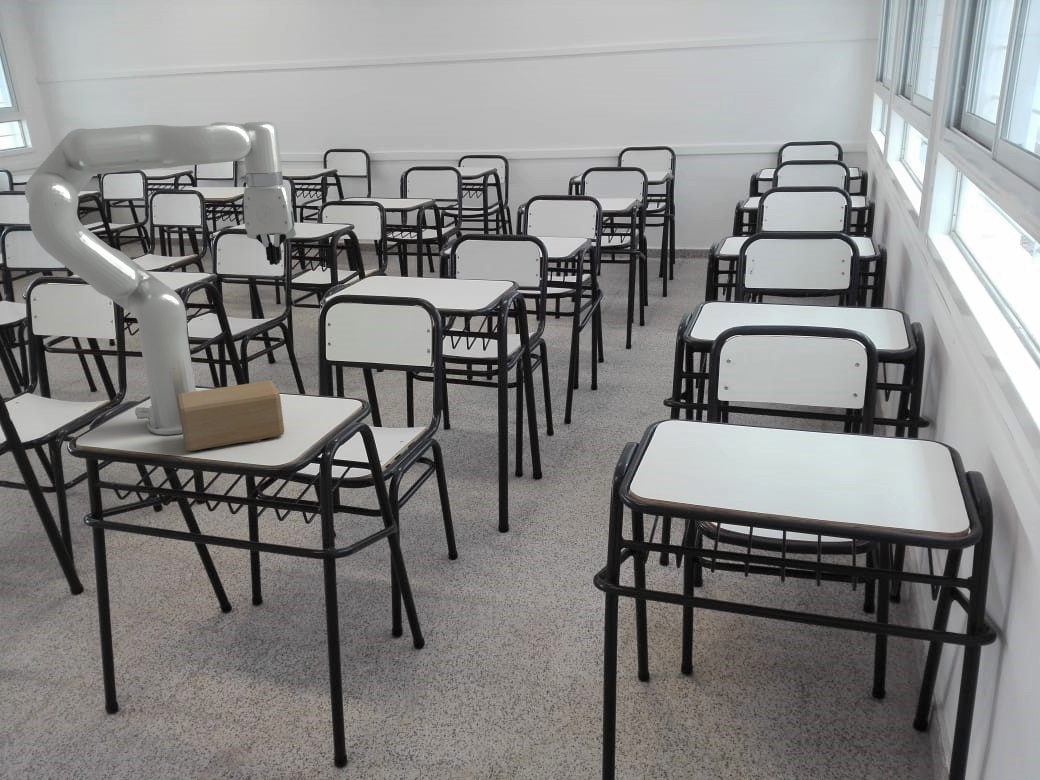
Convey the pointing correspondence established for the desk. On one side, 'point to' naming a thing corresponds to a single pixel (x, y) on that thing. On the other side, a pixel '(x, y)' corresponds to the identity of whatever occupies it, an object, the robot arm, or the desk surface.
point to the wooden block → (230, 415)
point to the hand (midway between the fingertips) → (275, 263)
